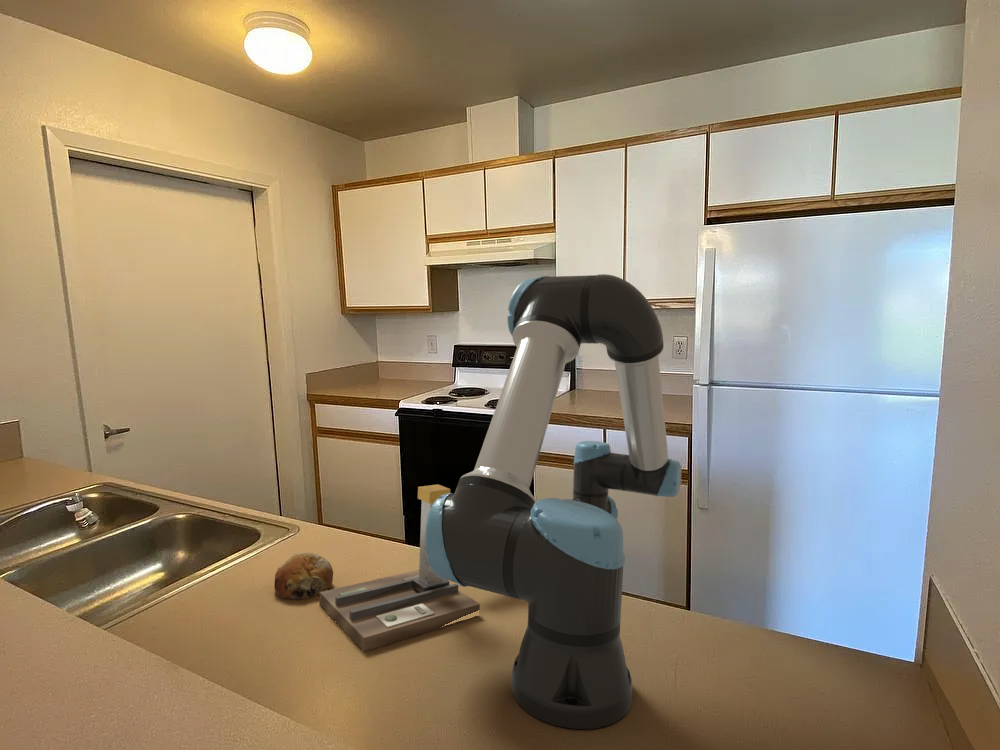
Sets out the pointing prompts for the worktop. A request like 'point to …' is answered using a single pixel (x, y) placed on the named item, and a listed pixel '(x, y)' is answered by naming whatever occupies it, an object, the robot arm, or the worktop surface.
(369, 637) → the switch board
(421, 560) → the lever
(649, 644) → the worktop surface
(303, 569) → the bread roll
